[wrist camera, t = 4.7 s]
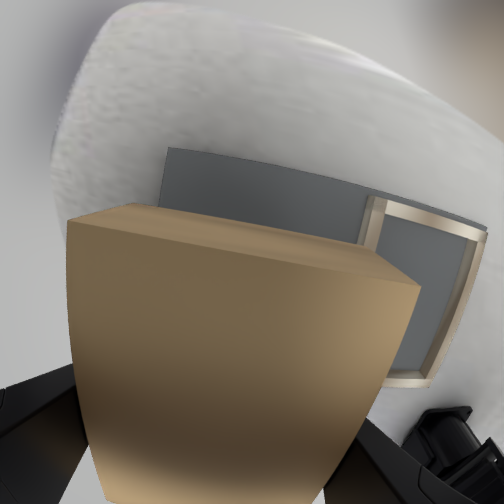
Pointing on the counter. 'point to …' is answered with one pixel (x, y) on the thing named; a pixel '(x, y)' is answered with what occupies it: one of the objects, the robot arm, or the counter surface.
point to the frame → (461, 288)
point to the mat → (324, 225)
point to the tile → (224, 353)
